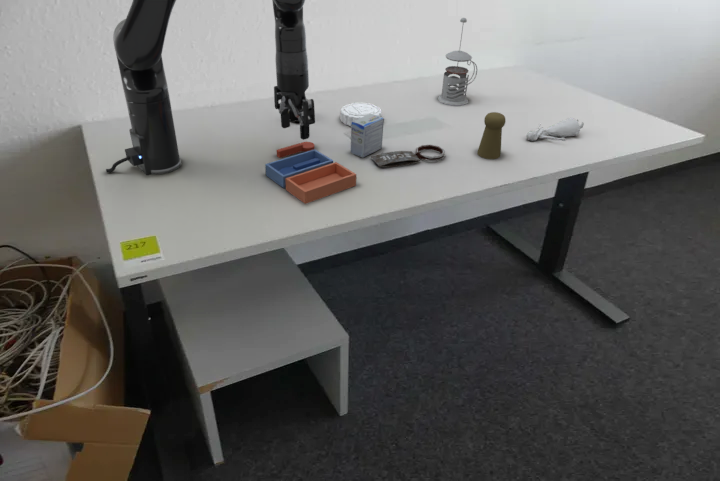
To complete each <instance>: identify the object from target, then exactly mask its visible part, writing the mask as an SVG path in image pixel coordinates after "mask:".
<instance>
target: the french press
mask: <svg viewBox="0 0 720 481" xmlns="http://www.w3.org/2000/svg"><path fill="white" fill-rule="evenodd" d="M459 22H460V23H462V28H461V32H463V29H464V23H467V22H468V19H467V18H466V17H461V18H460V19H459ZM462 38H463V33H461V34H460V43H459V47H462V46H461V45H462V40H463V39H462ZM445 58H446V59H447V60H449V61H451V62H457V65H451V66H450V65H449V66H447V67H445V72H444V73H443V78H442V87H441V94H440V95H439V96H438V97H437V101H438V102H440V103H441V104H445V105H448V106H464V105H466V104H468V103H469V100H468V98H467V90H468V86H469V85H470V84H472V83H473V82H474V81H475V79H476V77H477V75H478V66H477V64H476V63H475V62H474V61H473V60H472V59H473V57H472V55H471V54H469V53H468V52H467V51H463V50H461V48H459V49H458V50H453V51H450V52H448V53H445ZM465 62H467V63H466V64H467V66H470V65H471V64H472V65H473V73H472V76H471V77H469V76H470V75H469V74H468V73H469V70H470V69H468V68H466V67H463V66H459V63H465ZM475 70H476V71H475ZM450 75H451V76H450ZM455 75H456V76H455ZM474 75H475V76H474ZM458 76H459V77H458ZM473 77H474V78H473ZM472 79H473V80H472ZM471 80H472V81H471Z"/></svg>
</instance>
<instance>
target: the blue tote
mask: <svg viewBox="0 0 720 481" xmlns="http://www.w3.org/2000/svg"><path fill="white" fill-rule="evenodd" d="M314 158H318V159H319V160H320V164H316V165H313V166H310V167H307V168H304V169H301V170H298V171H295V172H291V173H288V174H285V175H283V174H282V173H280V170H281V169H282V168H286V167H291V168H293V165H296V164H299V163H302V162H305V161H308V160H311V159H314ZM331 163H334V160H333V159H332V158H330V156H329V157H328V156H327V155H326V154H324V153H322V152H320V151H319V150H317V149H316V148H315V149H314V150H310V151H307V152H299V153H296V154H293V155H289V156H286V157H283V158H279V159H278V160H274V161H271V162H267V163H265V164H264V166H265V176H266V177H267V178H269V179H270V180H272V181H273V182H274V183H275V184H277V185H279V187H281V188H282V189H286V178H288V177H291V176H294V175H297V174H301V173H304V172H307V171H310V170H313V169H316V168H319V167H322V166H325V165H328V164H331Z"/></svg>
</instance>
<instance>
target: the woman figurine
mask: <svg viewBox="0 0 720 481" xmlns="http://www.w3.org/2000/svg"><path fill="white" fill-rule="evenodd" d="M541 125H542V123H541V122H540V123H538V126H537V128H536V130H533V131H532V130H530V131H529V132H527V133H526V135H525V136H526V140H528V141H531V142H534V141H537V140H538V139H541V140H542V139H549V140H558V141H561V142H562V141H563V142H565V141H566V138H565V137H575V136H578V135H579V134H580V132H581V129H584V125H585V123H584V122H583V121H581V124H580V123H579V119H578V118H577V119H575V118H573V117H568V118H566V119H564V120H563V119H562V120H561V121H559V122H556V123H554V124H553V125H551V126H548V127H547V128H544V127H541Z"/></svg>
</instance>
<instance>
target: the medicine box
mask: <svg viewBox="0 0 720 481" xmlns="http://www.w3.org/2000/svg"><path fill="white" fill-rule="evenodd" d="M384 123H385V118H384V117H380V116H377V115H374V114H369V115H366V116H364V117H362V118H359V119H357V120H355V121H353V122H352V124H351V126H350V127H351V129H350V153H351V154H353V155H355V156H357V157H360V158H363V159H364V158H366V157H367V156H369V155H371V154H373V153H375V152H377V151H379V150H381V149H382V148H383V138H384V137H383V136H384V125H385V124H384Z"/></svg>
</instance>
